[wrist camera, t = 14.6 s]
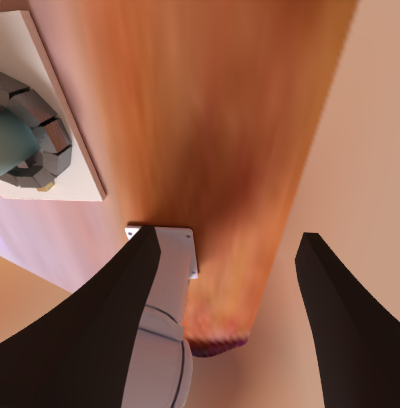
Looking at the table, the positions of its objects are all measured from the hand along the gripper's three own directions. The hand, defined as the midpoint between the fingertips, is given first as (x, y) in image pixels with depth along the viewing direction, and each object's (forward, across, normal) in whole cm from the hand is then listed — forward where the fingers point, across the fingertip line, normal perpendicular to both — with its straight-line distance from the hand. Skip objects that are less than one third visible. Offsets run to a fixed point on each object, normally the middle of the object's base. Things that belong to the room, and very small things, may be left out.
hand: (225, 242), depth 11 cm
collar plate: (+10, +19, -2) cm, 22 cm away
